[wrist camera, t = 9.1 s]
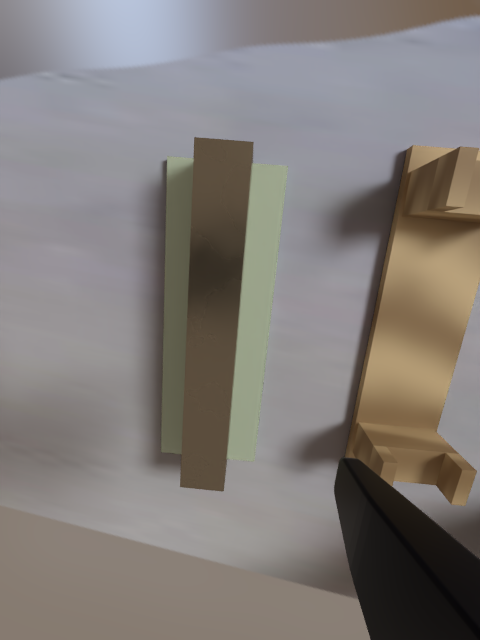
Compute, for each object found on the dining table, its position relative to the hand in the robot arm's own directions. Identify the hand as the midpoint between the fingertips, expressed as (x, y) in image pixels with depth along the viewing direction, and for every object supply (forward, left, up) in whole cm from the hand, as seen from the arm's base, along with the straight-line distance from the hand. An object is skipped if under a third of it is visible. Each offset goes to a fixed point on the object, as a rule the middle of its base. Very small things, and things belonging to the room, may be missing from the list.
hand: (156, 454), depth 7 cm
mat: (0, 0, -12) cm, 12 cm away
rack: (+1, -13, -12) cm, 18 cm away
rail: (0, 0, -12) cm, 12 cm away
